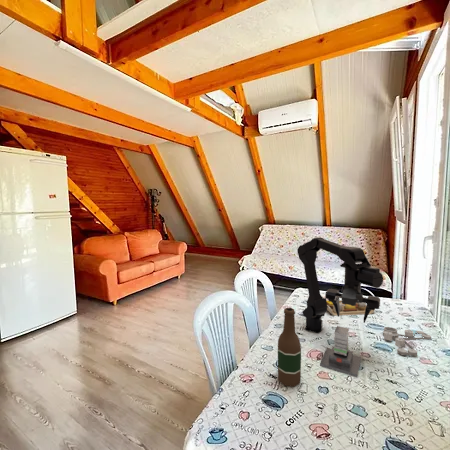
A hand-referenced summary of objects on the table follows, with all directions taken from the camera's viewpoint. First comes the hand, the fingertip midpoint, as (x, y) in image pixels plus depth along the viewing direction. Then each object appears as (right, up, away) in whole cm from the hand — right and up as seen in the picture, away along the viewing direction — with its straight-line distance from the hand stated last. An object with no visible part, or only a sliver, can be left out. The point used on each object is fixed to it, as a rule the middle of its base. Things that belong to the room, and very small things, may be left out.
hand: (351, 319), depth 102 cm
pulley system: (+26, -13, +8) cm, 30 cm away
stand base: (-7, -13, -7) cm, 17 cm away
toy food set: (+17, -10, +43) cm, 47 cm away
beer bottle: (-28, -15, -16) cm, 35 cm away
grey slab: (-7, -9, -7) cm, 14 cm away
